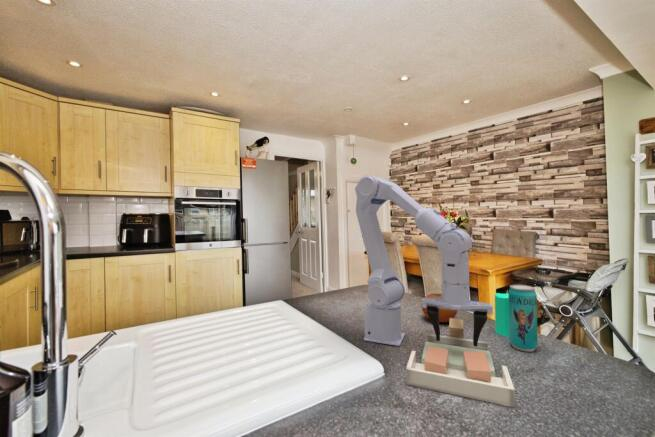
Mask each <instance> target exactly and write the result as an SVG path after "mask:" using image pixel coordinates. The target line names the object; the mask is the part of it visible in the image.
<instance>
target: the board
mask: <svg viewBox="0 0 655 437" xmlns="http://www.w3.org/2000/svg"><path fill="white" fill-rule="evenodd" d="M424 343H425V344H424V348H423V351H422V354H421V355H422V356H421V364H424V361H425V357H426V354H427V350H428V347H429V345H430V346H434V347H439V348H443V349H447V350H449V361H448V366H447V368H449V369H454V370H460V371H465V372H466V370H465V366H464V362H463V351H473V352H484V353H485V355H486V358H487V361H488V364H489V367H490V370H491V376H493V377H496V371H495V370H496V369H495V366H494V362H493V358H492V354H491V350H490V351H489V350H487V351H486V350H479V349H472V348H466V347H459V346H453V345H446V344H439V343H433V342H428V341H425V342H424Z"/></svg>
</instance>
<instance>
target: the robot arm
mask: <svg viewBox="0 0 655 437" xmlns="http://www.w3.org/2000/svg"><path fill="white" fill-rule="evenodd" d="M354 191H355V194H356V195H355V196H356V204H355V215H356V218H357V222H358V226H359V229H360V233H361V237H362V240H363V245H364V248H365V252H366V255H367V260H368V265H369V268H370V271H371V273H370V275H369V276H368V279H367V284H368V290H367V296H368V297H367V298H368V299H369V301H370V303H367V304H366V306H365V307H364V308H365V309H364V314H363V315H364V323H363V324H364V338H363V341H367V342H372V343H378V344H384V345H391V346H396V347H400V346H401V344H402V343H403V340H404V337H405V336H406V335H405V332H402V311H401V308H402V299H403V298H404V297H405V294H406V287H405V285H404V283H403V282H402V281H401V279H400V277H399V274H398V272H397V271H395V269H394V268H393V267H392V265H391V262H390V258H389V256H388V254H389V253H388V251H387V248H386V244H385V240H384V236H383V233H382V229H381V226H380V222H379V219H378V215H377V213H378V211H379V209H380V208H381V207H382V206H383V205H384V204H385V203H386V202H387V201H391V202H393V203H394V204H395V205H397V206H398V207H399V208H400V209H402V210H403V211H405V213H407V214H408V215H410V216H411V217H412V218H414V224H415V227H416V228H418V229H419V230H420V231H421V232H423V233H424V234H425V235H426V236H427V237H429V239H431V241H433V242H434V243H435V244H436V247H437V249H438V251H439V253H441V294H442V298H425V296H424V297H422V298H421V309H422V308H427V314H428V316H429V318H430V319H429V318H428V319H429V320H430V322H431V324H432V328H433V329H434V330H433V331H434V333H435V335H436V340H437V341H440V335H441V329H440V322H439V308H440V309H449V310H457V311H461V312H470V313H473V335H472V340H473V344H474V346H477V344H478V341H479V338H480V334H481V332H482V329H483V328H484V326H485V324H486V323H487V321H488V316H492V315H493V313H494V312H493V310H494V308H493V304H492V303H487V302H481V301H476V300H471V299H470V262H469V250H470V249H471V247H472V245H473V241H472V237H471V235H470V234H469V233H468V232H467V231H466V229H463V228H457V226H458V224H456V223H454V222H450V221H449V220H448V219H447V218H445V217H444V216H442V214H441V213H442V212H441V210H439V209H438V208H435V209H434V208H433V207H426V208H424V207H423V206H422V205H421V204H419V203H418V202H417V201H416V200H415V199H414V198H413V197H411V196H410V195H409V194H408V193H407V192H405V190H404V189H402V188H401V187H400V186H399V185H398V184H397V183H396V182H393V181H391V180H390V179H389V178H388V177H378V176H373V175H371V174H366V175H363V176H361V178H360V179H359V180H358V182H357V185H356V186H355V187H354Z"/></svg>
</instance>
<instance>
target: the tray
mask: <svg viewBox="0 0 655 437" xmlns="http://www.w3.org/2000/svg"><path fill="white" fill-rule="evenodd" d="M416 351H417V350H411V353H410V356H409V359H408V361H407V364H406V368H405V384H406V386H407V385H408V386H412V387H415V388H416V387H417V388H421V389H427V390H430V391H435V392H439V393H440V392H441V393H445V394H449V395H455V396H458V397H463V398H467V399H468V398H469V399H473V400H477V401H482V402H486V403H492V404H496V405H500V406H505V407H508V408H509V407H510V408H513V409H515V408H516V392H515V391H516V390H515V387H514V384H513V382H512V378H511V376H510V375H511V374H510V373H509V370H508V366H507V365H501V377H497V376H495V377H493V376H491V382H484V381H477V380H472V379H468V378H467V374H466V372H465V371H460V370H454V369H449V368H447V372H446V374H440V373H435V372H430V371H425V365H424V364H422V362H421V363H420V362H417V354H416V353H417V352H416Z"/></svg>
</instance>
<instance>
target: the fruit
mask: <svg viewBox="0 0 655 437" xmlns="http://www.w3.org/2000/svg"><path fill="white" fill-rule="evenodd" d="M424 298H442V293H435V292H434V293H429V294H428V295H426V296H424ZM421 311H422V313H423V314H424V315H425V317H427V318H428V319H429V320H430V318H429V316H428V314H427V308H422V307H421ZM457 313H458V310H449V309H440V308H439V323H448V322H450V318H453V319H455V318H456V315H457Z"/></svg>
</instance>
